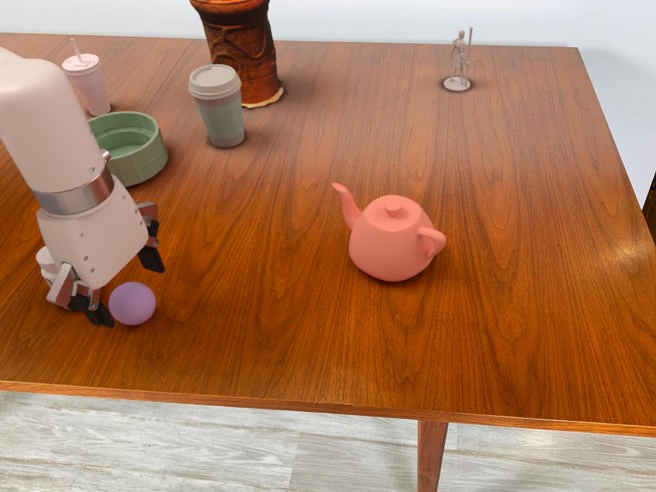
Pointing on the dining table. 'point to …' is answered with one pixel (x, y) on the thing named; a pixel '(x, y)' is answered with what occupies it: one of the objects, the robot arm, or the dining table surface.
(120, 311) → the ball
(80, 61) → the smoothie
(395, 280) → the teapot
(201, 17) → the vessel
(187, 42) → the dining table surface
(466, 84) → the figurine
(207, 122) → the coffee cup
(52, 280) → the pill bottle
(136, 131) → the bowl
